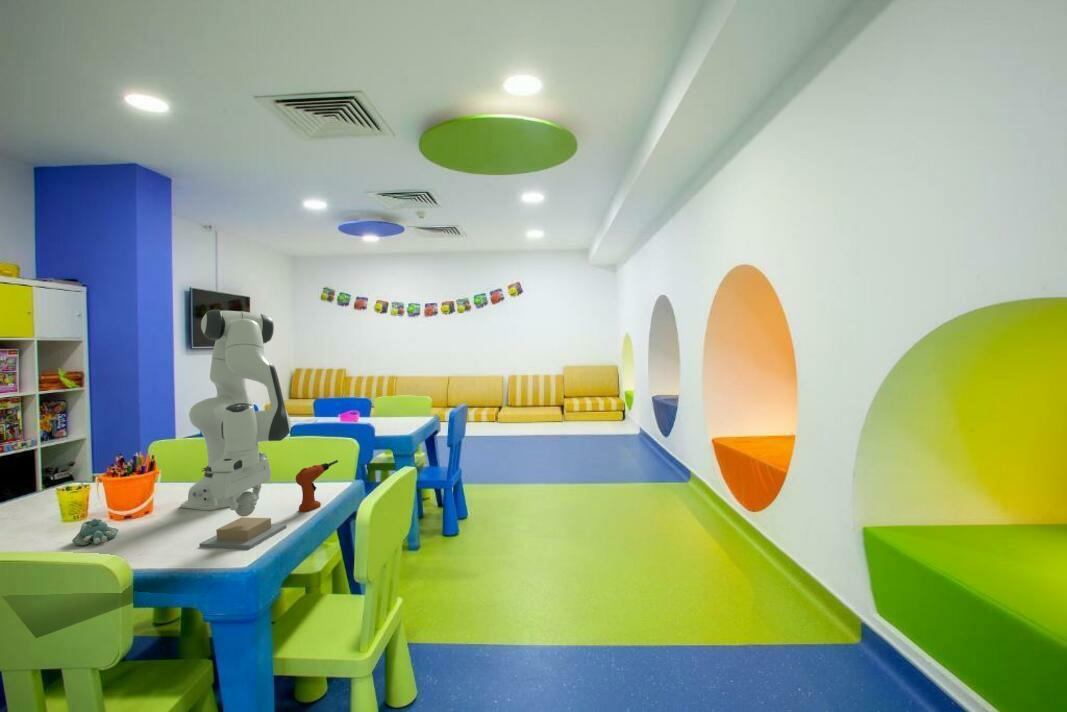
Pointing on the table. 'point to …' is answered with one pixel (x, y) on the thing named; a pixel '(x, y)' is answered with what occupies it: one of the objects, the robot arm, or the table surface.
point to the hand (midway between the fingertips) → (245, 504)
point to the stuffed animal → (94, 532)
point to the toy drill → (310, 485)
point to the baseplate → (243, 543)
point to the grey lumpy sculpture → (246, 503)
